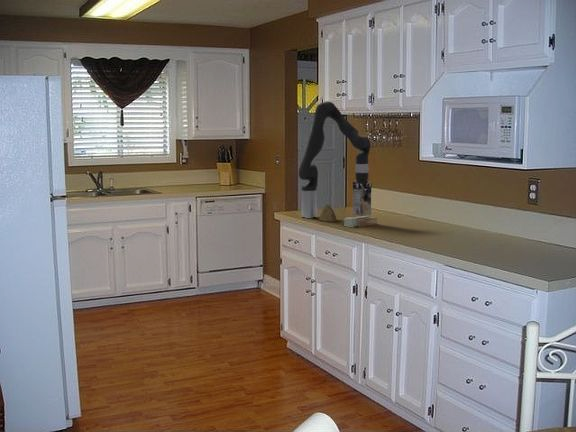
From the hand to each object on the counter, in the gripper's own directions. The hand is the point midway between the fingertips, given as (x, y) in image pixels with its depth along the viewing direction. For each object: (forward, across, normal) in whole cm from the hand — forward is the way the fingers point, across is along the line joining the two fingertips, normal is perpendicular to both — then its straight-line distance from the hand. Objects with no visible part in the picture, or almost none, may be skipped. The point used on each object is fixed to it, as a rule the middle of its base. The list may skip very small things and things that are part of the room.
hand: (362, 200), depth 388 cm
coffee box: (+9, 0, 0) cm, 9 cm away
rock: (+14, -23, -7) cm, 28 cm away
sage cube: (+14, +2, -11) cm, 18 cm away
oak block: (+15, 0, 0) cm, 15 cm away
